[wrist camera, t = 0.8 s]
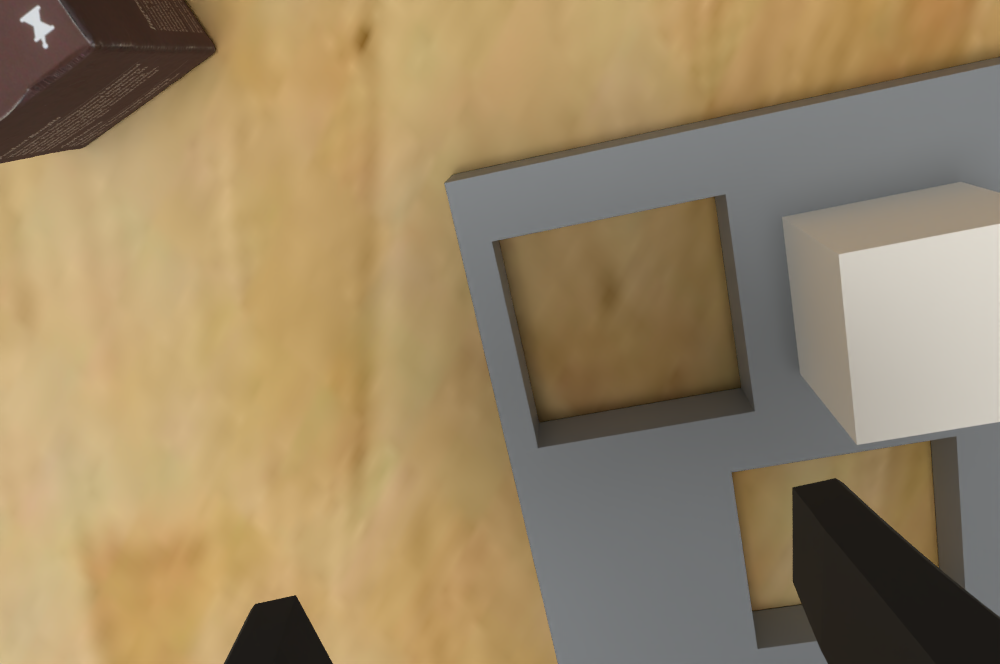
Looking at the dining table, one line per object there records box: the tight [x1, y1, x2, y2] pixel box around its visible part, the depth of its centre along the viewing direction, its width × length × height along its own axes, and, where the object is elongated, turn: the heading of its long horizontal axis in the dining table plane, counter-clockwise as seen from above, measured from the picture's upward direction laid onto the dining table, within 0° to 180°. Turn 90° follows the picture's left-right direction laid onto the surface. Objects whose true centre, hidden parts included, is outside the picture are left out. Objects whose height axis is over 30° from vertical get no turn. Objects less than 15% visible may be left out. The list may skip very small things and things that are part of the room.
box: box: [0, 0, 215, 163], centre depth 22 cm, size 6×6×7 cm
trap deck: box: [444, 57, 1000, 664], centre depth 26 cm, size 20×30×2 cm, turn 103°
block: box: [782, 182, 1000, 445], centre depth 22 cm, size 5×5×5 cm
